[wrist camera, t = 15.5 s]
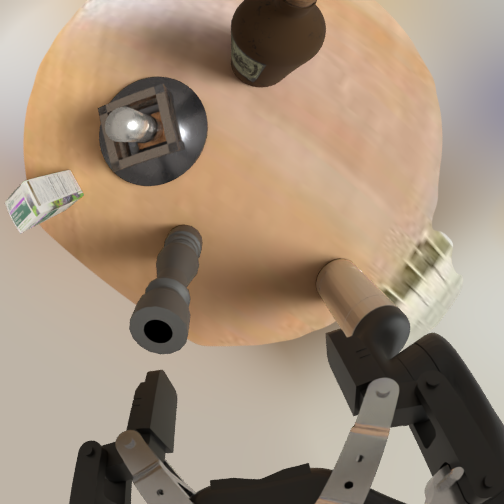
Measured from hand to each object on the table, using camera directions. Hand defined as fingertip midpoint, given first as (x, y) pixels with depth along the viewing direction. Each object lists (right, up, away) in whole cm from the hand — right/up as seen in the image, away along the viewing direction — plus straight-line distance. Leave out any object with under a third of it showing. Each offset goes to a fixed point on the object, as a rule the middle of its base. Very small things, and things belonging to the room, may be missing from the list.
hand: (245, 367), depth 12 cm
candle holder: (-11, +7, +35) cm, 37 cm away
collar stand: (-16, +25, +27) cm, 40 cm away
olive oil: (+1, +36, +25) cm, 44 cm away
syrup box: (-33, +17, +29) cm, 47 cm away
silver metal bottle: (-15, +24, +26) cm, 39 cm away
